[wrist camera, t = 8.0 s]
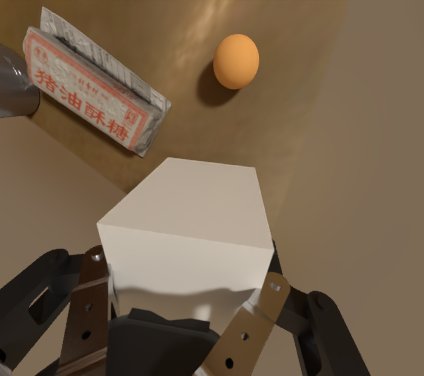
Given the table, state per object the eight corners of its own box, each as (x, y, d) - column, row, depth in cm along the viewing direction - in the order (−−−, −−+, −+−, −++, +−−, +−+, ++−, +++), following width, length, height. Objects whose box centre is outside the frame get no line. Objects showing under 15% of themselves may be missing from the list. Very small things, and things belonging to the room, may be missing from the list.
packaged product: (162, 103, 22) (131, 166, 26) (174, 101, 26) (146, 155, 30) (10, -10, 19) (5, 83, 23) (53, 9, 23) (41, 84, 27)
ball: (227, 24, 20) (223, 74, 24) (205, 37, 17) (205, 90, 22) (270, 33, 19) (259, 83, 23) (253, 48, 16) (244, 102, 20)
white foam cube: (241, 235, 18) (243, 341, 10) (170, 224, 19) (122, 318, 11) (254, 167, 15) (274, 250, 7) (168, 157, 15) (96, 223, 7)
